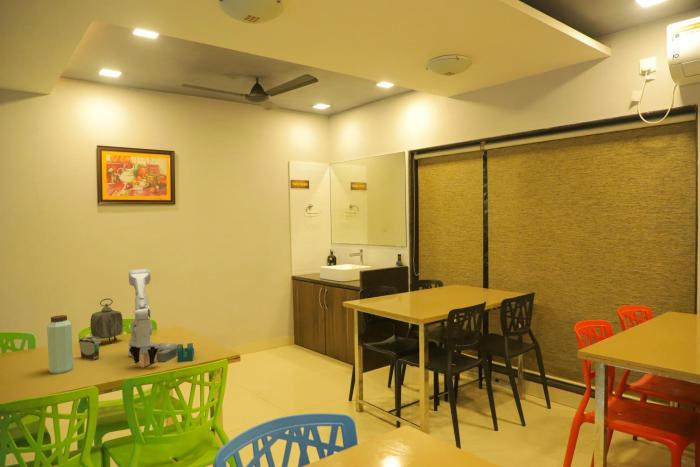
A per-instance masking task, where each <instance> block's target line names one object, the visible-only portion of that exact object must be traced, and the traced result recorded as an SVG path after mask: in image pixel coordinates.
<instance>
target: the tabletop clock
mask: <svg viewBox="0 0 700 467" xmlns="http://www.w3.org/2000/svg"><path fill="white" fill-rule="evenodd" d="M107 300H109V301H111V303H109V304H108V303H105V304H102V303H103V301H107ZM113 303H114V302H113V299H111V298H104V299H102V300H100V303H99V305H100V306H101V307H103V308H102V309H101V310H100V311H95V312H93V313H92V314H91V317H90V322H89V323H90V325H89V326H90V332H91V337H99V338H100V340H101V339H103V340H105V339H108V344H110V345H111V344H112V343H113V340H114V341H117V336H119V335H120V336H121V334H122V332H123V328H124V327H123V326H124V322H123V321H124V319H123V314H122V312H121V311H119V310H118V311H117V310H114V309H113V308H112V307H111V305H112V304H113ZM111 338H113V340H111Z"/></svg>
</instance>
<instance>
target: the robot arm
mask: <svg viewBox="0 0 700 467" xmlns="http://www.w3.org/2000/svg"><path fill="white" fill-rule="evenodd" d="M128 283H129V286H132V287H133V288H134V292H135V297H134V308H135V310H134V319H133V320H132V321H131V322H130V336H131V337H130V338H129V340H128V357H132V358H133V360H134V363H135V364H139V363H140V354H142V353H144V352H146V351H148V354H149V362H150V364H149V365H153V364H154V363H155V362H154V359H155V355H156V353H157V351H158V349H159V344H160V343H158V342H152V341H151V336H152V335H153V323H152V319H151V308H150V305H149V297H148V295H146V286H147V285H149V284H150V283H151V269H150V268H141V269H140V268H139V269H129V270H128Z"/></svg>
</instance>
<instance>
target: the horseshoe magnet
mask: <svg viewBox="0 0 700 467" xmlns="http://www.w3.org/2000/svg"><path fill="white" fill-rule="evenodd" d="M177 345H178V344H177V343H168V342H167V343H164V342H163V343H162V342H161V343H159V349H158V351H157V361H156V362H158V363H166V362H168V361H169V360H172V359H174V358H175V357H177Z"/></svg>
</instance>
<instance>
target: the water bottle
mask: <svg viewBox="0 0 700 467" xmlns="http://www.w3.org/2000/svg"><path fill="white" fill-rule="evenodd" d="M72 327H73V326H72V323H71V321H69V320H68V316H67V314H66V315H65V314H63V315H62V314H61V315H54V316H51V317H50V322H49V323H47V325H46V330H47V332H46V334H47V353H48V355H47V356H48V370H49V373H51V374H53V375H54V374H55V375H56V374H63V373H68V372H70V371H72V370H73V369H74V354H73V353H74V352H73V335H72V334H73V330H72V329H73V328H72Z"/></svg>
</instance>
